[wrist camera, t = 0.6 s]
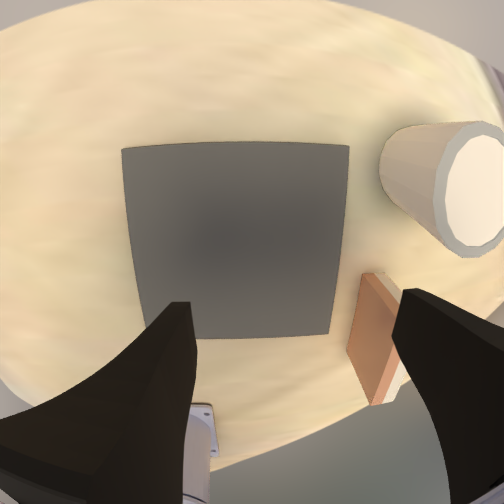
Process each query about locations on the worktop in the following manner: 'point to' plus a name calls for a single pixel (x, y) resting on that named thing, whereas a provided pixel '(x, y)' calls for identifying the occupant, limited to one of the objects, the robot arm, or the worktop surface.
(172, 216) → the plate
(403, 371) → the tile
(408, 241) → the worktop surface
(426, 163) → the white short cylinder
